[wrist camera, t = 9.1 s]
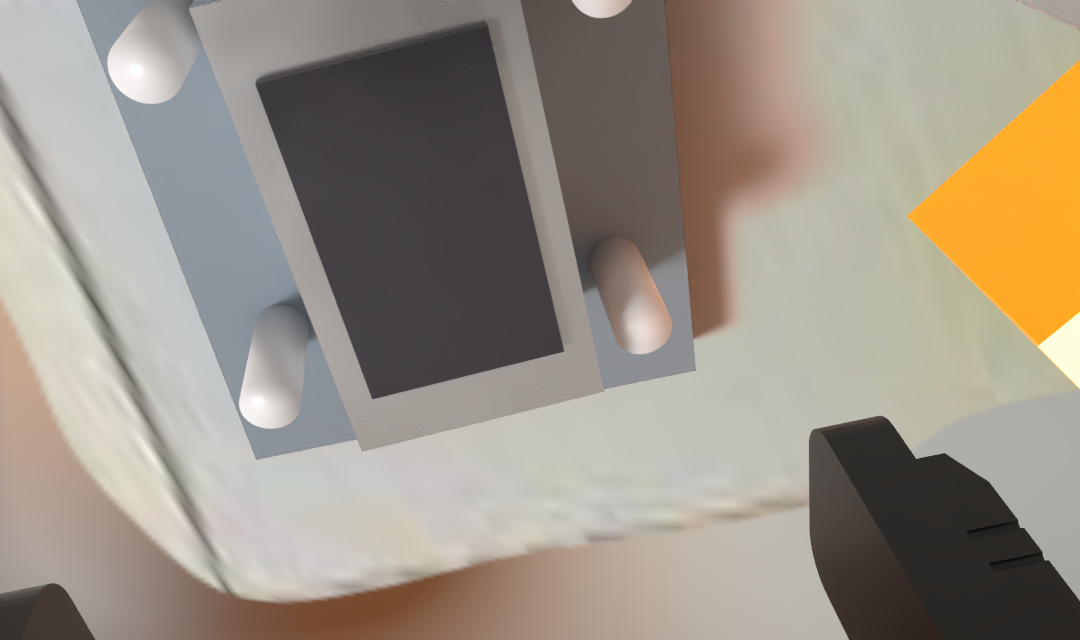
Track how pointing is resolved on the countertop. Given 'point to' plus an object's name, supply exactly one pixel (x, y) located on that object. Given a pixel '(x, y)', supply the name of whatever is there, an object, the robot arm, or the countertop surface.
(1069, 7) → the milk carton
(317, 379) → the grey plate with pegs
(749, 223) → the countertop surface
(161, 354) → the countertop surface
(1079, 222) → the orange juice
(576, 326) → the block
